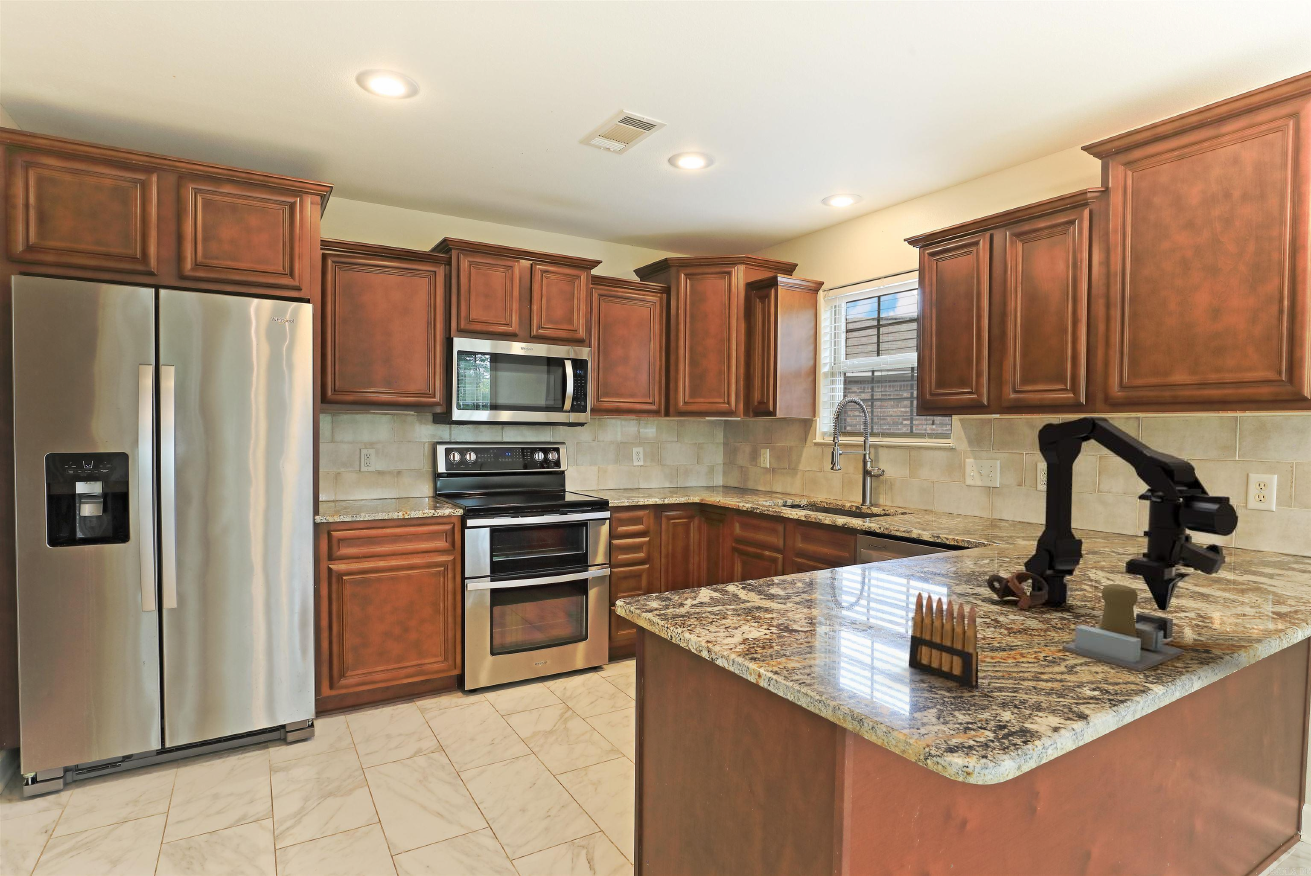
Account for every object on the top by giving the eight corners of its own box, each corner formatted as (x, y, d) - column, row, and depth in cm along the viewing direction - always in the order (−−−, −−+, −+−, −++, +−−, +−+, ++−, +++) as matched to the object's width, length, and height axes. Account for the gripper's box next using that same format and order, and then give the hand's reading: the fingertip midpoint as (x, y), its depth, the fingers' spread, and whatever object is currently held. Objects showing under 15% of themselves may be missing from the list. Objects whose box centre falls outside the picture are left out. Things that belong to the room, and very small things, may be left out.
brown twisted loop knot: (1036, 602, 157) (1051, 575, 153) (1038, 631, 149) (1053, 603, 145) (980, 583, 160) (993, 556, 156) (979, 610, 153) (992, 582, 149)
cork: (1147, 653, 118) (1150, 589, 118) (1115, 654, 117) (1117, 589, 117) (1118, 642, 124) (1121, 581, 124) (1088, 643, 123) (1090, 581, 123)
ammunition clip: (908, 666, 111) (911, 591, 111) (915, 664, 113) (918, 590, 112) (971, 688, 103) (975, 607, 102) (978, 685, 104) (982, 605, 103)
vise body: (1140, 671, 112) (1141, 645, 112) (1062, 650, 122) (1063, 625, 122) (1200, 646, 126) (1201, 622, 126) (1125, 629, 136) (1126, 607, 136)
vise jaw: (1156, 651, 119) (1157, 632, 119) (1098, 637, 126) (1099, 618, 126) (1185, 640, 126) (1186, 621, 126) (1129, 627, 133) (1129, 609, 133)
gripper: (1199, 537, 118) (1194, 628, 119) (1239, 530, 129) (1234, 614, 129) (1126, 527, 127) (1121, 612, 128) (1168, 521, 138) (1164, 600, 138)
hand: (1162, 610), depth 130 cm, fingers closed
